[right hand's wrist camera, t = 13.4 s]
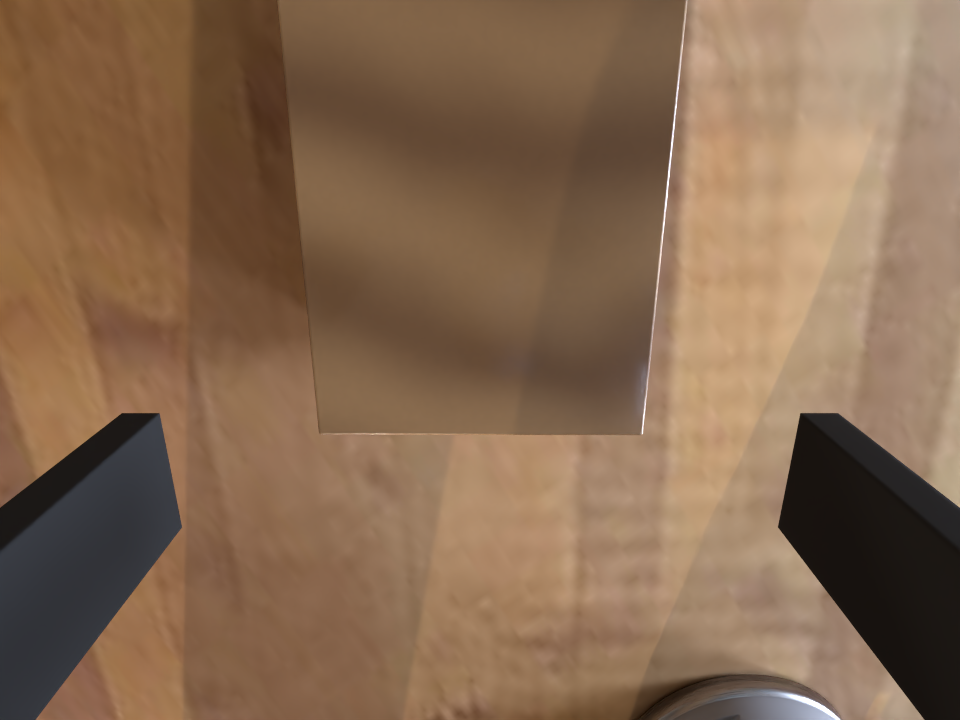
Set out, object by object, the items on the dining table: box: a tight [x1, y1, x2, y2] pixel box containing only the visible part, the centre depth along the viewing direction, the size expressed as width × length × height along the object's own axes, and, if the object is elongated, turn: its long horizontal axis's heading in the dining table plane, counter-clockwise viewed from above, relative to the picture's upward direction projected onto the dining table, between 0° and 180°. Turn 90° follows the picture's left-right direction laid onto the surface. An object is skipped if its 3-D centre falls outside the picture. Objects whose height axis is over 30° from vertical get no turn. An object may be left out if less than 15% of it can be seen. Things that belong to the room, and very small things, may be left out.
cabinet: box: [277, 0, 688, 435], centre depth 23 cm, size 20×11×11 cm, turn 0°
